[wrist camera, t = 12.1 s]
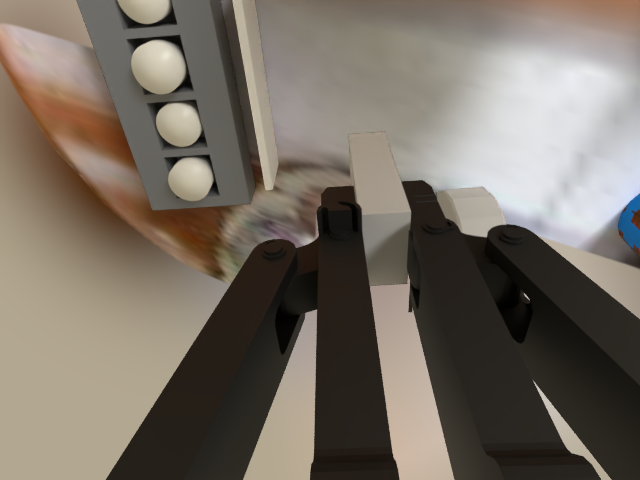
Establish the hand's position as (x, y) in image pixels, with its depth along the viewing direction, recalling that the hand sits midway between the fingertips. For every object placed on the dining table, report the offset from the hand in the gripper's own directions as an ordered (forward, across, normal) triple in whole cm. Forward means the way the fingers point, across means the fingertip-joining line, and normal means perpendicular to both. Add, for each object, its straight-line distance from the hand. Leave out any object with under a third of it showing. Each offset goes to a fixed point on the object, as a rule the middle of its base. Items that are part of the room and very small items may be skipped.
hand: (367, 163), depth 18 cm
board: (+30, -18, -3) cm, 35 cm away
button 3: (+29, -18, -6) cm, 35 cm away
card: (+30, -9, -3) cm, 32 cm away
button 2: (+27, -18, 0) cm, 33 cm away
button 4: (+27, -18, -12) cm, 35 cm away
